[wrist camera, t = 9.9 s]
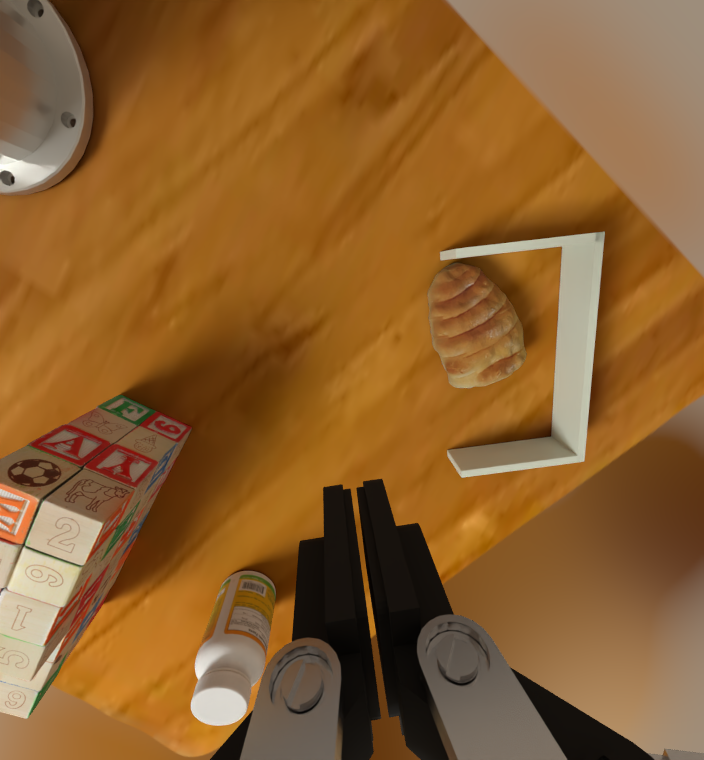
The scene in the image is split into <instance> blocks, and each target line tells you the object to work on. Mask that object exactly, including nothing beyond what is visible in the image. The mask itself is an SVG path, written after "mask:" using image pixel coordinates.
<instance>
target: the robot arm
mask: <svg viewBox="0 0 704 760" xmlns="http://www.w3.org/2000/svg"><path fill="white" fill-rule="evenodd" d="M92 122H93V93H92V87H91V82H90V77H89V72H88V69H87V66H86V63H85V60H84V58H83V55H82V52H81V49H80V47H79V45H78V43H77V41H76V40H75V38H74V36H73V34H72V32H71V30H70V28H69V26H68V25H67V23H66V22H65V21H64V19H63V18H62V16H61V15H60V14H59V12H58V11H57V10H56V8H55V7H54V5H53V4H52V3H51V2H50V1H49V0H0V194H3V195H28V194H32V193H35V192H39V191H43V190H46V189H48V188H49V187H51V186H53V185H55V184H57V183H58V182H60V181H61V180H63V179H64V178H65V177H66V176H67V175H68V174H69V173H70V172H71V171H72V170H73V169H74V168H75V166H76V165H77V163H78V162H79V160H80V159H81V157H82V156H83V154H84V151H85V149H86V146H87V144H88V141H89V138H90V134H91V128H92ZM75 123H76V125H75ZM363 486H364V487H358V488H357V496H358V505H359V513H360V521H361V529H362V537H363V545H364V553H365V561H366V569H367V576H368V582H369V589H370V595H371V602H372V608H373V615H374V622H375V628H376V635H377V641H378V648H379V654H380V661H381V667H382V674H383V681H384V687H385V694H386V699H387V706H388V712H389V717H394V716H399V719H400V725H401V731H402V735H404V736H405V741H406V746H407V747H408V748H409V749H410V750H411V751H412V752H413V753H414V754H415V755H417V756H418V757H419V758H420V759H421V760H704V753H696V752H687V751H679V750H671V749H664V753H663V755H657V754H648V753H646V752H645V751H643V750H642V749H641V748H639V747H638V746H637V745H635V744H634V743H633V742H631V741H629V740H628V739H626V738H624V737H623V736H621V735H619V734H618V733H616V732H615V731H613V730H611V729H610V728H608V727H607V726H605V725H603V724H602V723H600V722H598V721H597V720H595V719H593V718H592V717H590V716H589V715H587V714H585V713H584V712H582V711H580V710H579V709H577V708H576V707H574V706H572V705H571V704H569V703H567V702H566V701H564V700H563V699H561V698H559V697H558V696H556V695H554V694H553V693H551V692H549V691H548V690H546V689H544V688H543V687H541V686H540V685H538V684H536V683H535V682H533V681H531V680H530V679H528V678H527V677H525V676H523V675H522V674H520V673H519V672H517V671H515V670H514V669H512V668H510V667H509V665H508V664H507V662H506V660H505V659H504V657H503V656H502V654H501V653H500V651H499V649H498V648H497V646H496V645H495V643H494V641H493V640H492V638H491V637H490V636H489V635H488V634H487V632H486V631H485V630H484V629H483V628H482V627H481V626H479V625H478V624H477V623H475V622H474V621H473V620H470V619H468V618H465V617H463V616H459V615H454V614H453V611H452V609H451V606H450V604H449V602H448V598H447V596H446V594H445V590H444V588H443V585H442V583H441V580H440V577H439V575H438V572H437V570H436V567H435V564H434V562H433V559H432V557H431V554H430V551H429V549H428V546H427V544H426V541H425V538H424V536H423V533H422V531H421V528H420V526H419V524H418V523H415V524H408V525H402V526H396V525H395V521H394V518H393V514H392V511H391V507H390V504H389V501H388V497H387V494H386V490H385V487H384V483H383V480H382V479H377V480H370V481H363ZM323 501H324V537H322V538H316V539H309V540H303V541H300V544H299V554H298V568H297V581H296V594H295V607H294V620H293V634H292V642H291V643H289V644H286V645H285V646H284V647H283V648H281V649H280V650H279V651H278V652H277V653H276V654H275V655H274V656H273V658H272V659H271V661H270V662H269V663H268V665H267V667H266V669H265V672H264V674H263V677H262V680H261V683H260V687H259V691H258V694H257V698H256V702H255V705H254V709H253V711H252V712H251V713H250V714H249V715H248V716H247V717H246V719H245V720H244V721H243V722H242V723H241V724H240V726H239V727H238V728H237V729H236V730H235V731H234V732H233V734H232V735H231V736H230V737H229V738H228V739H227V740H226V742H225V743H224V744H223V745H222V746H221V747H220V749H219V750H218V751H217V752H216V753H215V754H214V755H213V757H212V758H211V759H210V760H369V759H370V758H371V756H372V754H373V752H374V751H373V742H372V741H373V734H372V725H371V720H377V719H380V718H381V715H380V708H379V701H378V692H377V684H376V677H375V670H374V661H373V654H372V645H371V638H370V630H369V622H368V615H367V607H366V600H365V592H364V585H363V577H362V570H361V563H360V555H359V548H358V541H357V533H356V526H355V519H354V511H353V504H352V496H351V489H344V490H343V485H335V486H328V487H324V488H323Z"/></svg>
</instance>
